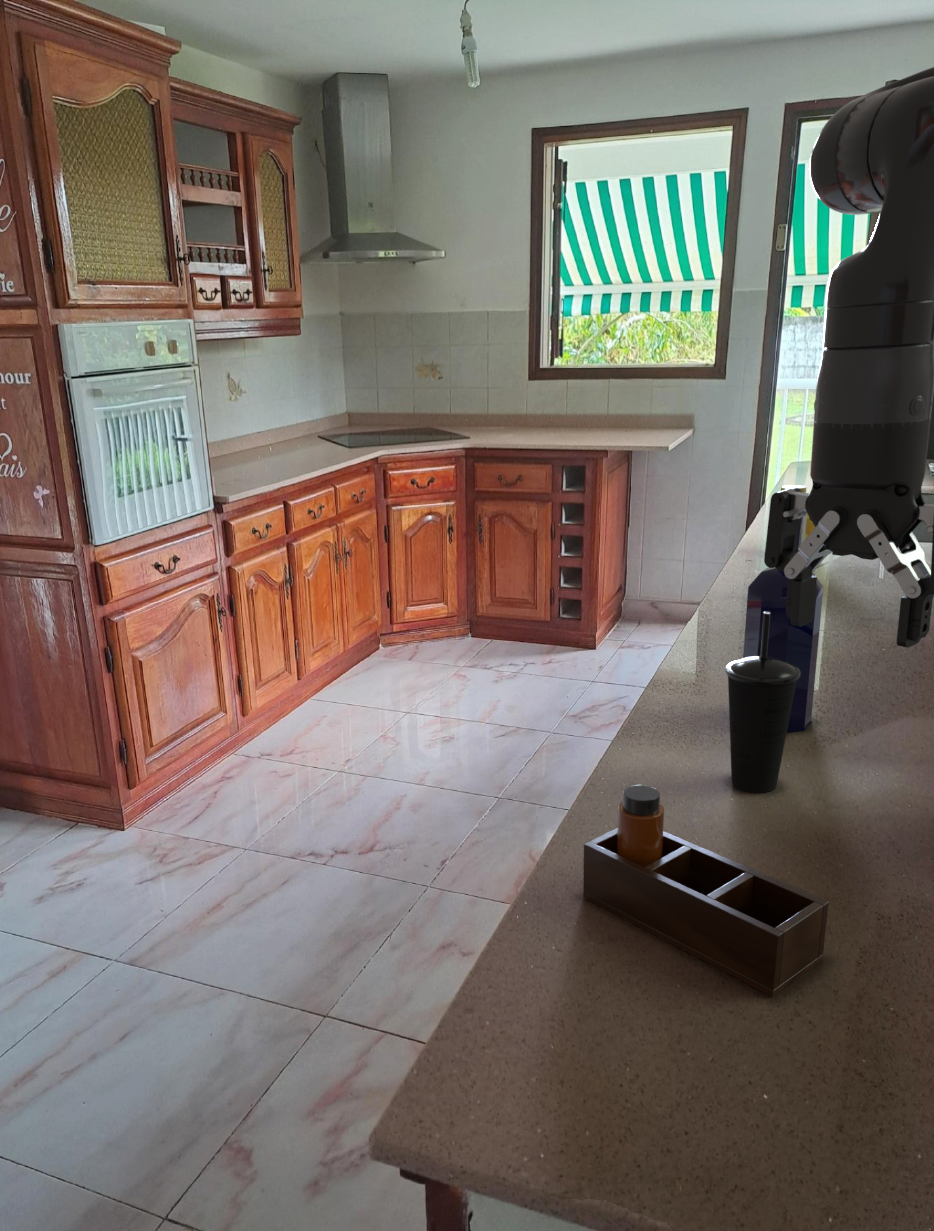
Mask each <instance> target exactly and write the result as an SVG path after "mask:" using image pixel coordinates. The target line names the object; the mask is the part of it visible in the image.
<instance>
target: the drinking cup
mask: <svg viewBox="0 0 934 1231" xmlns="http://www.w3.org/2000/svg"><path fill="white" fill-rule="evenodd" d="M769 625H770V612H764V615H763V628H762V641H761V654H760V656H752V657H747V658H743V657H742V658H741V659H737V660H733V661H731V662H729V663H728V664H727V665H726V666H725V669H724V670H725V674H726V676H727V687H728V688H727V689H728V712H729V713H728V714H729V715H728V716H729V720H728V721H729V740H730V741H729V742H730V743H729V744H730V746H729V747H730V749H729V750H730V774H731V776H730V779H731V784H732V786H734V788H735V789H738V790H740V791H743V792H747V793H753V794H755V793H756V794H764V793H769V792H772V791H774V790H775V789H776V788H777V787H778V786H777V785H778V780H779V774H780V770H781V765H782V759H783V755H784V749H785V744H786V739H787V734H788V733H787V729H788V723H789V718H790V713H791V708H792V702H793V697H794V692H795V687H796V681H797V680H798V679H799V677H800V670H799V668H798V667H796V666H795V665H793V664H790V663H787V662H785V661H783V660H781V659H778V658H774V657H769V656H767V650H768V637H769Z"/></svg>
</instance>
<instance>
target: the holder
mask: <svg viewBox="0 0 934 1231" xmlns="http://www.w3.org/2000/svg"><path fill="white" fill-rule="evenodd" d="M582 872H583V873H582V874H583V877H582V878H583V880H582V881H583V882H582V883H583V888H582V890H583V891H582V898H583V899H585V900H587V901H589V902H591V903H592V904H595V905H597V906H598V907H601V908H602V909H604V910H606V911H608V912H610V913H612V914H614V915H615V916H617V917H619V918H621V919H623V920H625V921H627V922H629V923H631V924H632V925H634V926H636V927H638V928H640V929H642V930H644V931H646V932H648V933H650V934H652V935H653V936H655V937H657V938H659V939H661V940H663V941H665V942H667V943H669V944H671V945H672V946H674V947H676V948H678V949H680V950H681V951H684V952H686V953H687V954H689V955H692V956H693V957H695V958H696V959H699V960H701V961H703V962H705V963H707V964H708V965H710V966H712V967H714V968H716V969H718V970H720V971H722V972H724V973H726V974H728V975H729V976H731V977H733V978H735V979H737V980H739V981H741V982H743V983H744V984H746V985H749V986H750V987H752V988H754V989H756V990H758V991H760V992H762V993H764V994H765V995H767V996H769V997H771V998H774V997H775V996H777V995H778V994H779V993H781V992H782V991H783V990H785V989H786V988H787V987H789V986H790V985H792V984H793V983H794V982H795V981H797V980H798V979H799V978H801V977H803V975H805V974H806V973H808V972H809V971H810V970H812V969H813V968H814V967H816V966H817V965H819V964H820V963H821V962H823V960H824V950H825V941H826V930H827V921H828V913H829V904H830V901H828V900H826V899H823V898H821V897H818V896H816V895H814V894H811V893H810V892H807V891H805V890H802V889H800V888H797V887H795V886H793V885H790V884H788V883H786V882H784V881H781V880H779V879H777V878H774V877H772V876H769V875H767V874H765V873H762V872H760V871H758V870H755V869H753V868H751V867H748V866H746V865H744V864H741V863H739V862H737V861H734V860H732V859H730V858H728V857H726V856H725V857H724V856H723V855H720V854H718V853H715V852H713V851H711V850H708V849H706V848H704V847H701V846H699V845H697V844H694V843H692V842H689V841H687V840H685V839H682V838H681V837H678V836H675V835H673V834H671V833H669V832H666V831H664V830H663V851H662V858H661V859H659V860H657V861H655V862H653V863H651V864H649V865H648V866H646V867H643V866H641V865H639V864H636V863H634V862H632V861H630V860H628V859H626V858H624V857H621V856H619V855H617V827H616V828H613V829H612V830H610V831H608V832H606V833H604V834H601V835H600V836H598V837H596V838H594V839H592V840H590V841H588V842H585V843H584V844H583V871H582Z"/></svg>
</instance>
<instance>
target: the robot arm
mask: <svg viewBox="0 0 934 1231" xmlns="http://www.w3.org/2000/svg"><path fill="white" fill-rule="evenodd" d="M808 170H809V179H810V184H811V186H812V189H813V191H814V193H815V194H816V196H817V198H818V200H820V201H821V202H822V204H824V205H825V206H826V207H827V208H829V209H830V210H833V211H835V212H837V213H840V214H842V215H843V214H844V215H849V216H851V215H853V216H861V215H868V214H874V213H879V216H878V219H877V222H876V224H875V227H874V231H873V232H872V235H871V237H870V240H869V242H868V244H867V245H866V246H865V247H863V249H861V250H859V251H858V252H856V253H853V254H851V255H849V256H847V257H845V258H842V259H841V260H840V261H839V262H837V263H836V265H835V266H834V267H833V268H832V269H831V271H830V273H829V277H828V281H827V287H826V295H825V309H824V310H825V311H824V323H823V324H824V325H823V339H822V348H823V349H822V351H821V352H822V353H821V359H820V364H819V368H818V372H817V377H816V378H817V379H816V386H815V399H814V403H813V410H814V411H813V412H814V414H813V427H812V429H813V430H812V443H811V458H810V472H809V474H810V478H811V481H812V486H811V490H810V491H809V493H808V492H806V493H802V491H801V490H800V489H799V488H792V489H786V490H783V491H781V490H780V491H777V492H774V493H773V494H772V495H771V497H770V503H769V512H768V521H767V529H766V530H767V531H766V539H765V547H764V558H763V562H764V564H765V566H766V568H774V567H775V568H777V569H778V570H780V571H782V572H783V573H784V574H785V576H786V577H787V580H788V582H787V599H786V613H787V616H788V617H791V618H790V623H791V625H794V626H799V627H802V626H804V625H807V624H809V623H811V622H812V621H813V618H814V609H815V595H816V581H817V578H818V576H817V575H815V576H812V572H813V573H814V572H815V570H816V569H817V568H818V567H819V566H820V564H821V563H822V562H823V561H824V560H825V559H826V558H827V557H828V556H829V555H831V554H832V556H839V557H843V556H855V557H858V558H859V559H861V560H867V561H868V560H870V561H874V560H876V559H879V561H880V563H881V564H882V566H883V567H884V570H886V571H887V573H890V574H892V575H893V577H894V578H895V580H896V581H897V583H898V586H900V589H901V590H902V592H903V594H904V596H902V597H900V603H899V614H898V622H897V631H896V645H897V646H898V647H901V648H902V647H903V648H908V649H909V648H911V647H913V646H914V645H917V644H919V643H920V641H921V640H922V639H924V638H926V636H928V634H929V632H930V628H931V627H930V626H931V619H932V618H931V617H932V611H933V610H932V609H933V600H934V503H926V502H925V500H924V497H923V493H922V487H923V483H924V479H925V475H926V468H927V459H928V458H927V457H928V448H929V439H930V431H931V430H930V429H931V420H932V411H933V402H934V66H932V67H930V68H927V69H924V70H922V71H919V72H916V73H914V74H911V75H909V76H906V77H904V78H901V79H898V80H896V81H893V82H892V83H888V84H887V85H884V86H881V87H879V88H876V89H875V90H872V91H870V92H868V93H867V92H866V93H865V94H863V95H860V96H859V97H857V98H854V99H853V100H851V101H849V102H847V103H846V104H845V105H843V106H842V107H841V108H839V109H838V110H837V111H836V112H835V113H833V115H832V116H831V117H830V118H829V119H828V120H827V121H826V123H825V124H824V126H823V127H822V128H821V129H820V132H819V133H818V135H817V137H816V139H815V141H814V145H813V147H812V149H811V153H810V158H809V168H808ZM805 511H806V512H807V514H808V515H809V517H810V519H811V521H812V523H813V524H814V526H815V529H814V530H813V531H812V532H811V533H810V535H809V536H808V537H807V538H806V539H805V541H804V542H803V543H802V544H801V545H800V546H799V548H798V552H797V553H796V547H797V538H798V530H799V522H800V518H802V517H803V516H804V514H805ZM921 522H923V523H924V524H925V526H926V532H927V534H928V535H930V536H931V537H932V541H931V559H930V560H931V562H930V566H929V564H928V563H927V561H926V553H925V550H924V548H923V547H922V545H921V544H920V542H919V541H918V538H917V537H916V535H915V534H914V530H915V529H916V528H917V527H918V526H919V525H920V524H921Z"/></svg>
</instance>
